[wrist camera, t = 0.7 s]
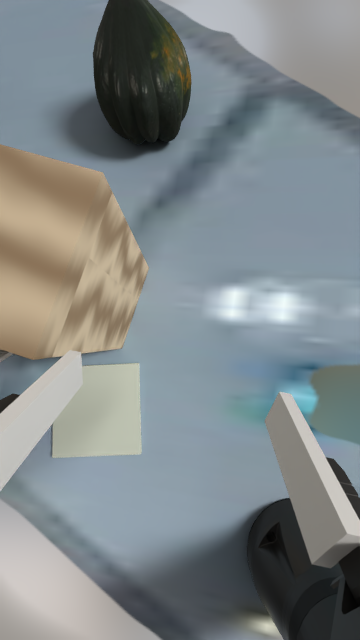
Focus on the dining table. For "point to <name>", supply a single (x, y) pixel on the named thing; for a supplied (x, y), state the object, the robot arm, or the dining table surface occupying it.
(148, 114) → the squash
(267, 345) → the dining table surface
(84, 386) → the mat
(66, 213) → the oak cabinet
